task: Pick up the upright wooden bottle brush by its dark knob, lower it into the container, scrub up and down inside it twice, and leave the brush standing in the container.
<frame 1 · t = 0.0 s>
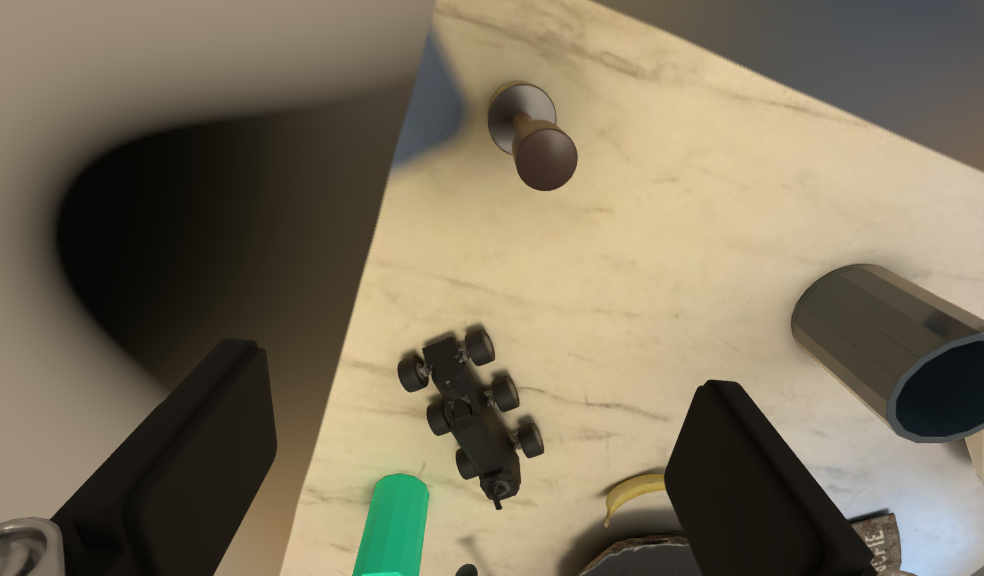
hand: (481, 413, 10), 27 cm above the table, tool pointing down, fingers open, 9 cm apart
banana: (630, 480, 50), on the table
container: (844, 311, 41), on the table
toy vehicle: (474, 394, 44), on the table
board: (646, 563, 56), on the table
keychain: (870, 560, 57), on the table
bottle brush: (518, 114, 33), on the table
candle: (401, 492, 50), on the table
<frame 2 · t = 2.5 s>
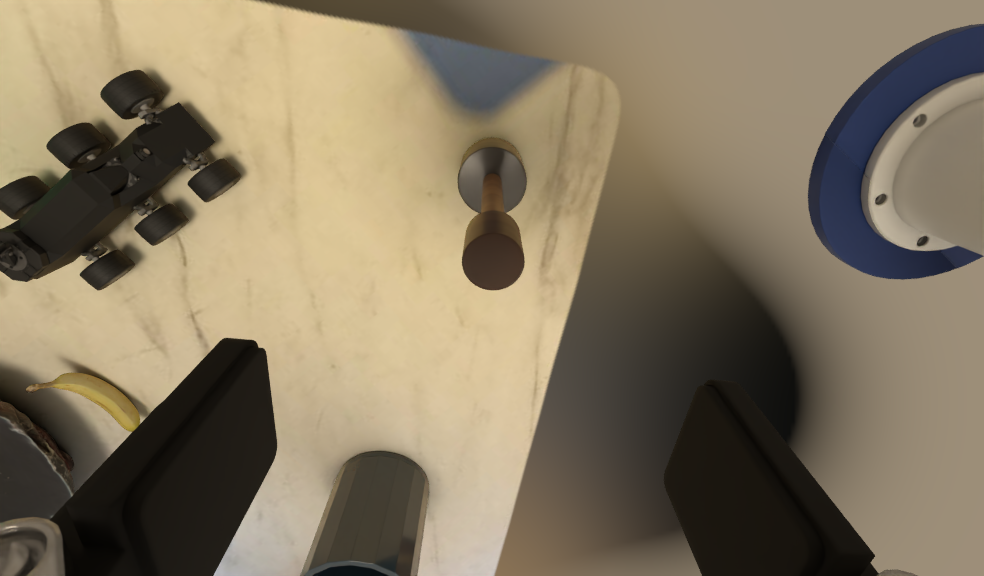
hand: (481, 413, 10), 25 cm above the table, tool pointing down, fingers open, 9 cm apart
banana: (111, 387, 42), on the table
container: (383, 484, 47), on the table
toy vehicle: (138, 182, 33), on the table
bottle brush: (492, 169, 33), on the table
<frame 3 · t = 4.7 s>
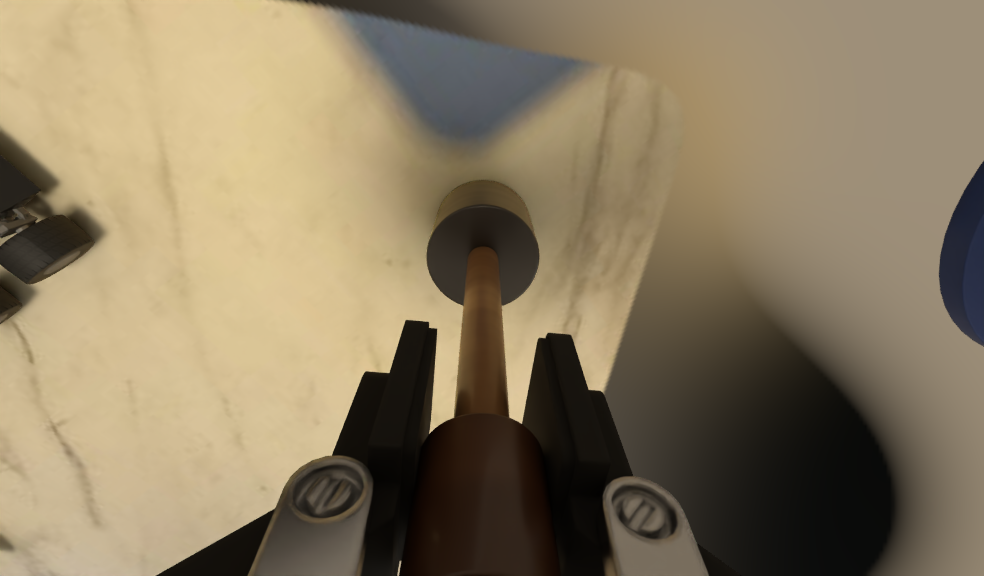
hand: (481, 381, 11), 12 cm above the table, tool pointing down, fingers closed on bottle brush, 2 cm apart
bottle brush: (483, 226, 22), on the table, touching gripper
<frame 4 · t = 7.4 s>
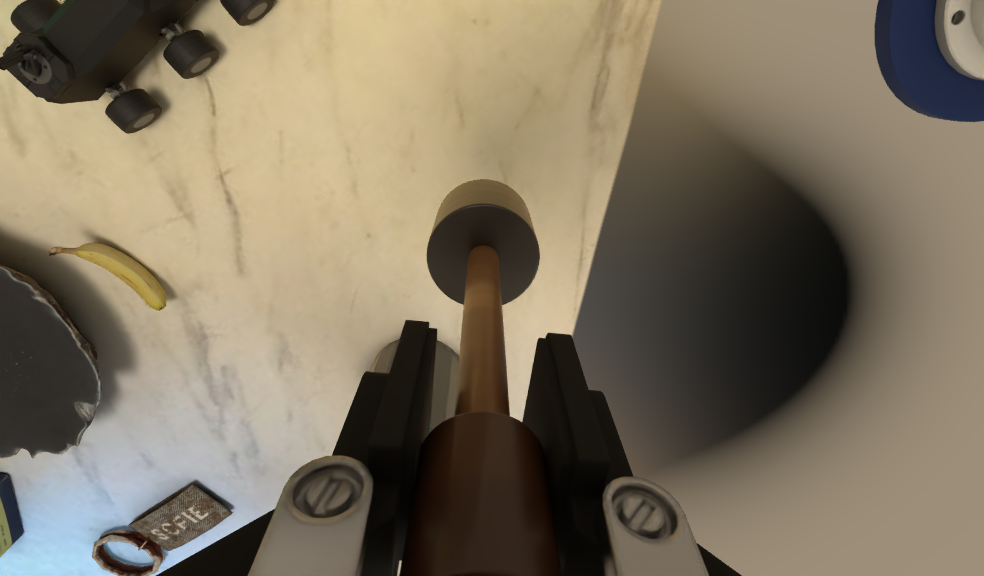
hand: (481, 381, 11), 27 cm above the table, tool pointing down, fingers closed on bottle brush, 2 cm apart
banana: (136, 265, 40), on the table
container: (419, 377, 45), on the table
toy vehicle: (165, 14, 31), on the table
board: (15, 330, 42), on the table
keychain: (165, 526, 54), on the table
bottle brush: (483, 226, 22), point 16 cm above the table, touching gripper
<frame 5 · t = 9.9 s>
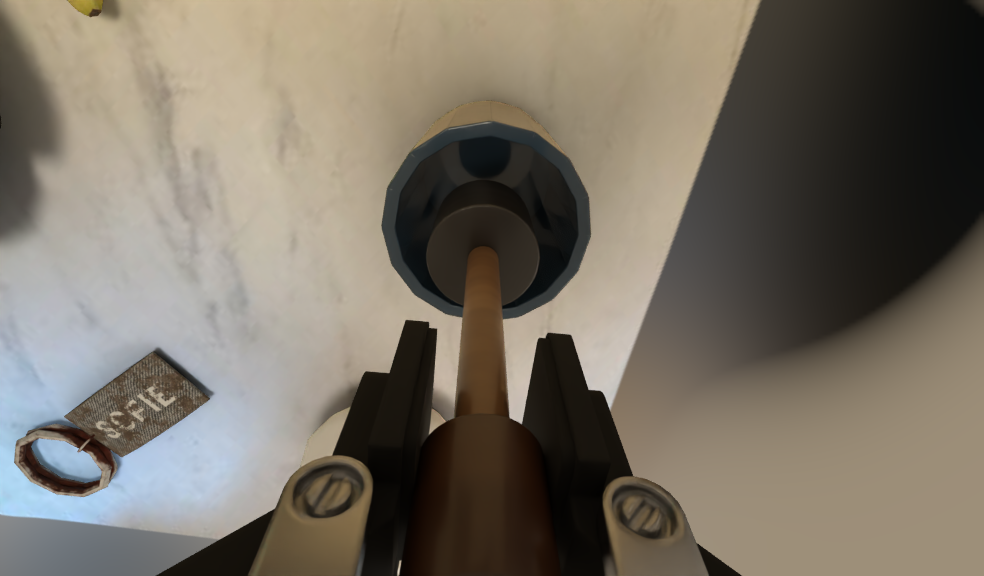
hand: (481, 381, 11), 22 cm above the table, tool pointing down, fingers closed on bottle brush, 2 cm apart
cup: (396, 434, 41), on the table
container: (486, 175, 30), on the table
keychain: (117, 423, 40), on the table
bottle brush: (483, 226, 21), point 10 cm above the table, touching gripper
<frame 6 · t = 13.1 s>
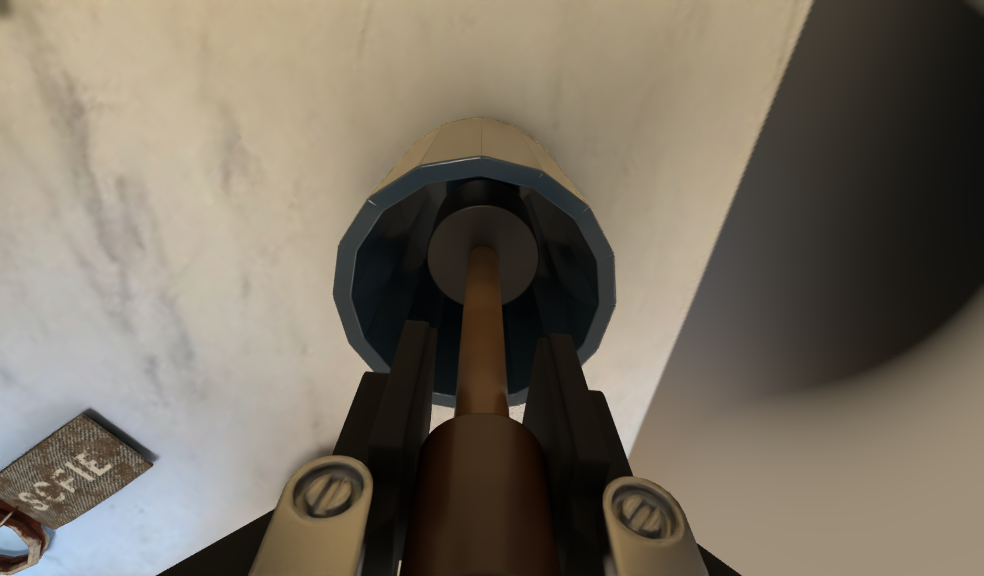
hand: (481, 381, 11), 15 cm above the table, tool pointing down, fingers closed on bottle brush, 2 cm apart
container: (478, 207, 25), on the table
keychain: (47, 491, 34), on the table
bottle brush: (483, 226, 22), point 4 cm above the table, touching gripper
when the fingers open (12 cm above the table, at t = 15.1 s): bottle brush stays where it is, resting on container.
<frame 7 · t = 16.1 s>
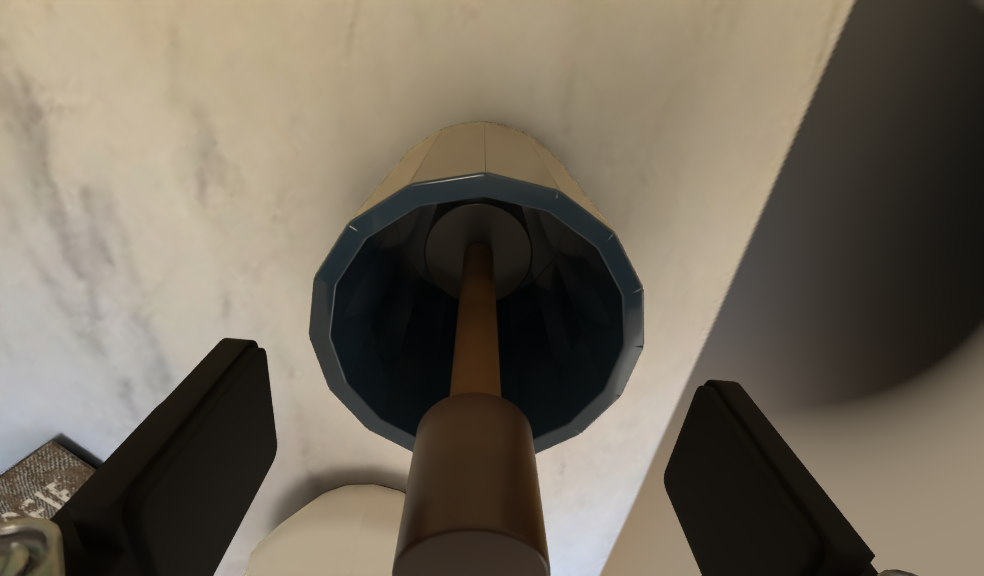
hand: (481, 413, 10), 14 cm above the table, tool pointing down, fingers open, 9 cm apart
cup: (370, 527, 33), on the table
container: (480, 220, 23), on the table
keychain: (19, 519, 32), on the table
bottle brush: (479, 224, 22), point 1 cm above the table, touching container
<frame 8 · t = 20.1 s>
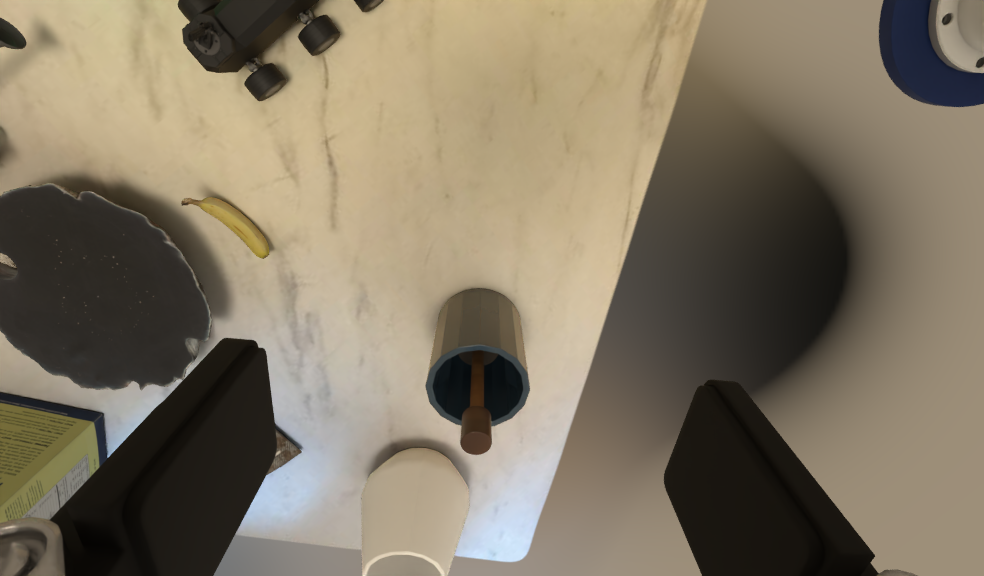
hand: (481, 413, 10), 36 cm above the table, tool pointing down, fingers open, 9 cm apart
banana: (242, 219, 46), on the table
cup: (420, 472, 61), on the table
container: (479, 325, 51), on the table
toy vehicle: (295, 1, 38), on the table
board: (128, 277, 48), on the table
protein box: (41, 429, 57), on the table
keychain: (237, 466, 60), on the table
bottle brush: (478, 328, 51), point 1 cm above the table, touching container
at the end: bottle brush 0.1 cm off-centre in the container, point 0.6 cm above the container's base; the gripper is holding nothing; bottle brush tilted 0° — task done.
